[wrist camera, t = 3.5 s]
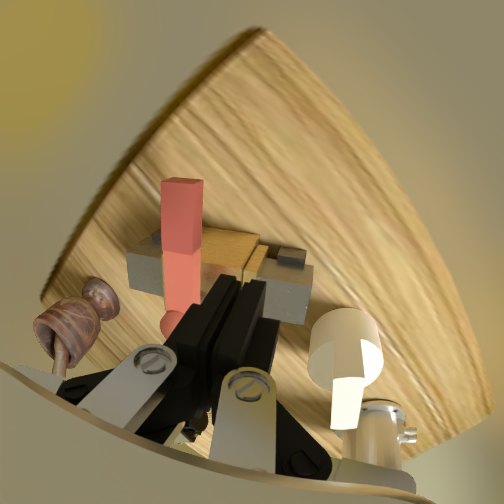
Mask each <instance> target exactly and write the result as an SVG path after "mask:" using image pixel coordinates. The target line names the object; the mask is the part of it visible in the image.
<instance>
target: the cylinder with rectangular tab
mask: <svg viewBox="0 0 504 504" xmlns="http://www.w3.org/2000/svg"><path fill="white" fill-rule="evenodd" d="M382 367H383V354H382V349H381V344H380V339H379V334H378V329H377V326H376V324H375V321H374V320H373V319H372V318H371V316H370V315H368V314H367V313H365V312H364V311H362V310H358V309H355V308H339V309H335V310H332V311H330V312H327V313H326V314H324V315H323V316H321V317H320V318H319V319H318V320H317V321H316V322H315V324H314V326H313V328H312V330H311V338H310V348H309V358H308V367H307V369H308V373H309V376H310V377H311V379H312V380H313V382H315V383H316V384H317V385H318V386H320V387H322V388H324V389H326V390H330V391H332V409H331V428H330V429H337V430H346V429H354V428H357V425H358V420H359V414H360V408H361V402H362V396H363V389H364V387H365V386H367V385H369V384H370V383H371V382H373V381H374V380H375V379H376V378H377V377H378V375H379V374H380V372H381V370H382Z"/></svg>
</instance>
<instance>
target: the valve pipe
mask: <svg viewBox="0 0 504 504" xmlns="http://www.w3.org/2000/svg"><path fill="white" fill-rule="evenodd" d="M259 238H260V235H258V234H251V233H245V232H238V231H231V230H225V229H218V228H211V227H205V226H202V242H201V259H200V304H201V303H202V301H203V300H204V298H205V297H206V295H207V294H208V292H209V291H210V289H211V288H212V286H213V285H214V283H215V282H216V280H217V278H218V277H219V275H220V274H227V275H232V276H236V278H237V280H238V281H241V289H242V287H243V285H244V283H245V282H249V283H250V281H251V279H255V280H261V281H266V282H267V285H266V294H265V302H264V310H263V317H265V318H271V319H276V320H280V321H281V322H287V323H293V324H299V325H304V322H305V317H306V313H307V308H308V304H309V299H310V294H311V289H312V281H313V268H314V266H312V265H306V264H305V259H306V251H305V250H299V249H293V248H287V247H281V246H280V249H279V252H278V255H277V260H275V259H269V258H267V256H268V248H269V246H265V245H259ZM126 261H127V270H128V279H129V287H130V288H131V289H135V290H139V291H143V292H147V293H151V294H155V295H159V296H163V297H164V304H165V310H166V298H165V283H164V265H163V250H162V240H161V229H159V230H158V231H156V232H155V233H153V234H152V239H151V238H145V239H144V240H142V241H141V242H139V243H138V244H136V245H135V246H134V247H132V248H131V249H129V250H128V251H126Z"/></svg>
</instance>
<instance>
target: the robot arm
mask: <svg viewBox="0 0 504 504" xmlns="http://www.w3.org/2000/svg"><path fill="white" fill-rule="evenodd" d="M266 285H267V282H266V281H261V280H255V279H251V281H250V283H249V282H245V283H244V285H243V287H242V289H241V281H238V280H237V278H236V276H232V275H227V274H220V275H219V277H218V278H217V280H216V282H215V283H214V285H213V286H212V288H211V289H210V291H209V292H208V294H207V295H206V297H205V298H204V300H203V301H202V303H201V304H195V303H193V304H191V306H190V307H189V308H188V310H187V311H186V313H185V314H184V315H183V317H182V318H181V320H180V321H179V323H178V324H177V326H176V327H175V328H174V330H173V331H172V333H171V334H170V336H169V337H168V339H167V340H166V342H165V343H164V344H163V345H160V344H148V345H143V346H141V347H138V348H137V349H136V350H134V351H133V352H132V353H131V354H130V355H129V356H128V357H127V358H126V359H124V360H123V361H122V362H121V363H120V364H119V365H118V366H117V367H116V368H114V369H110V370H106V371H102V372H98V373H93V374H89V375H85V376H80V377H75V378H72V379H69V380H67V381H66V380H65V378H64V377H61V376H58V375H54V374H50V373H47V372H44V371H40V370H37V369H34V368H30V367H27V366H23V365H20V366H15V367H13V368H12V367H10V366H8V365H7V364H5V363H3V362H0V504H435V503H434V502H432V501H431V500H428V499H426V498H424V497H422V496H419V495H416V483H415V481H414V479H413V477H412V476H411V475H410V474H408V473H407V472H404V471H402V459H401V449H400V443H405V444H411V443H415V442H416V440H417V435H416V432H417V428H416V427H409V428H405V426H403V425H404V423H405V420H406V416H405V412H404V409H403V408H402V407H401V406H400V405H398V404H396V403H394V402H390V401H382V400H377V401H368V402H363V403H361V408H360V414H359V420H358V425H357V428H354V429H346V430H337V429H334V430H335V433H336V435H337V436H338V437H339V438H340V439H342V440H343V451H342V459H341V460H340V459H337V458H333V457H330V456H329V454H328V453H327V451H326V450H325V449H324V448H323V447H322V446H321V445H320V444H319V443H318V442H317V441H316V440H315V439H314V438H313V437H312V436H311V435H310V434H309V433H308V432H307V431H306V430H305V429H304V428H303V427H302V426H301V425H300V424H299V423H298V422H297V421H296V420H295V419H294V418H293V417H292V416H291V415H290V413H289V412H288V411H287V410H286V409H285V408H284V407H283V406H282V405H281V404H280V403H279V402H278V401H277V399H276V384H275V381H274V380H273V378H272V376H270V371H271V367H272V363H273V358H274V354H275V349H276V344H277V339H278V333H279V327H280V320H276V319H271V318H265V317H263V310H264V302H265V294H266ZM211 406H212V424H213V426H214V431H213V436H212V442H211V447H210V453H209V459H205V458H202V457H198V456H195V455H192V454H188V453H185V452H181V451H179V450H176V449H173V448H170V446H171V444H172V443H173V442H174V440H175V439H176V437H177V436H178V435H179V433H180V432H181V430H182V429H183V427H184V425H185V421H187V420H190V419H193V417H196V418H199V419H200V418H201V416H202V414H203V411H206V412H209V410H210V408H211Z"/></svg>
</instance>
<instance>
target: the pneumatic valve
mask: <svg viewBox="0 0 504 504" xmlns="http://www.w3.org/2000/svg"><path fill="white" fill-rule="evenodd" d="M207 425H208V415H207V412H206V411H203V414H202V416H201V418H200V419H199V418H196V417H193V419H190V420H187V421H185V425H184V427H183V429H182V430H181V432H180V433H179V435H178V436H177V437H176V439H175V440H174V442H173V443H172V444H173V445H175V444H176V443H178V445H181V444H182V442H194V441H195V439H196V437H197V436H198V435H201V433H202V431H204V430H205V429H206V427H207Z"/></svg>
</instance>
